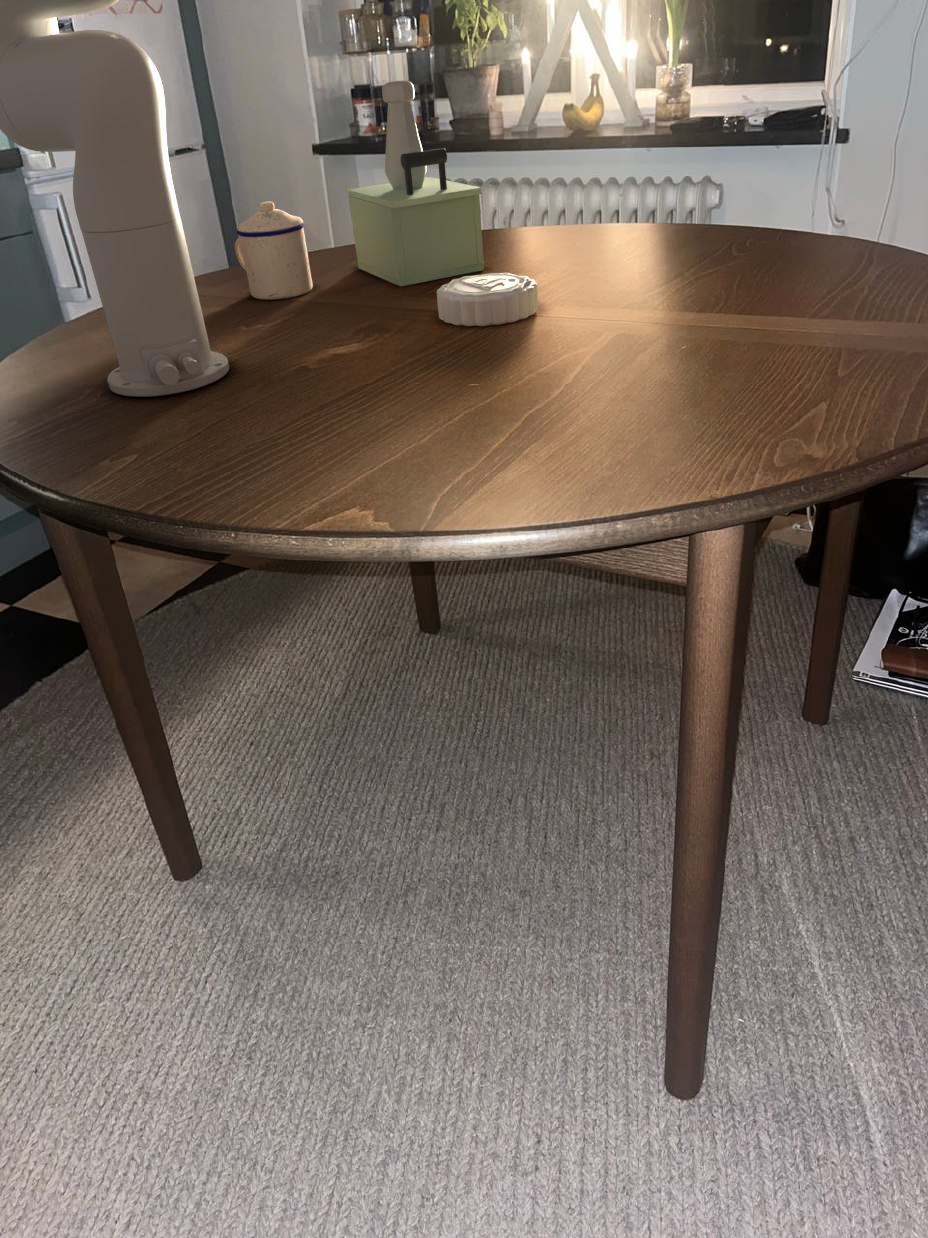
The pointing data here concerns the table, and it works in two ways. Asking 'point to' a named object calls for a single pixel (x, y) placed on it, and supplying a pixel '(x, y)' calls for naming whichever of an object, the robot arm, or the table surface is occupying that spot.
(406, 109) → the salt shaker
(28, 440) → the table surface
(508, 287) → the mooncake
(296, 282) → the teacup with lid
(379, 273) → the green rectangular box
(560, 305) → the table surface
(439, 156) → the green lid with handle
